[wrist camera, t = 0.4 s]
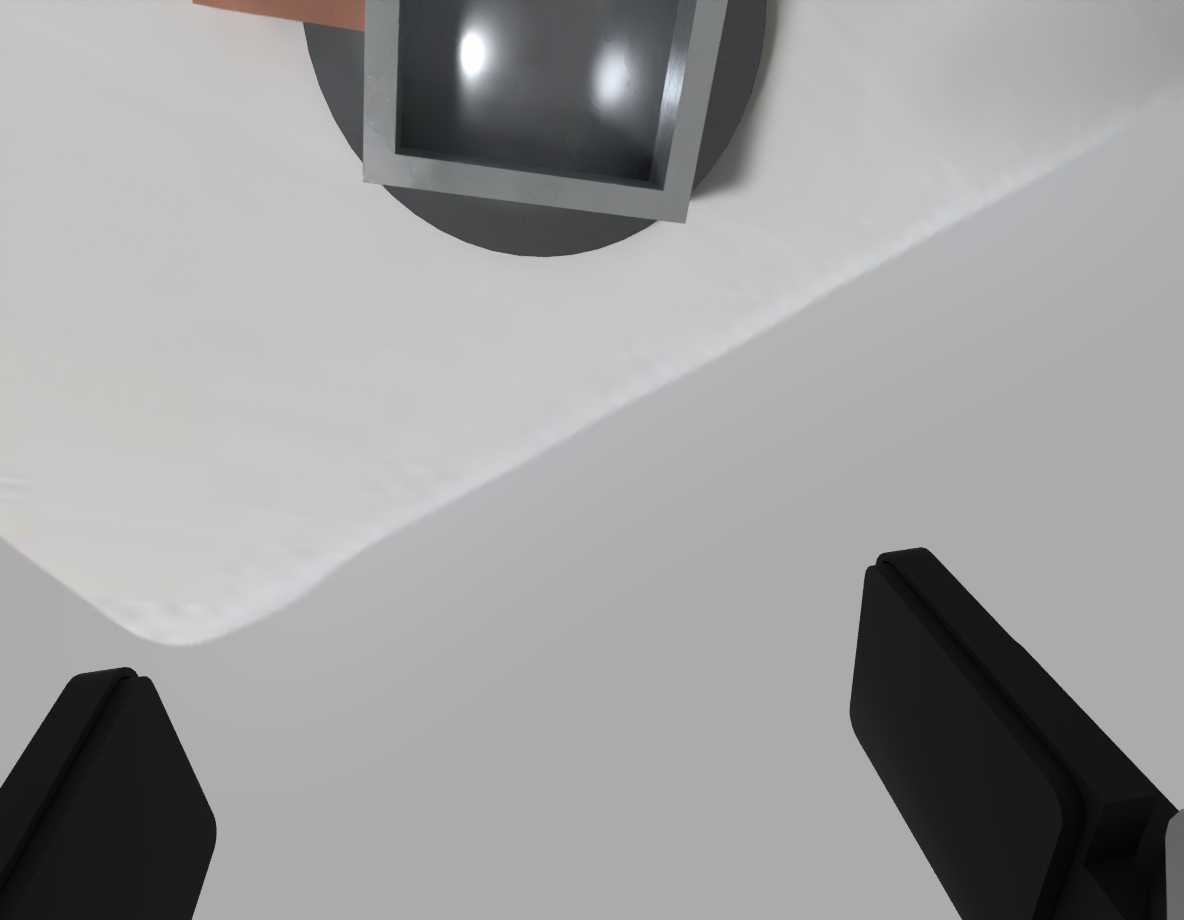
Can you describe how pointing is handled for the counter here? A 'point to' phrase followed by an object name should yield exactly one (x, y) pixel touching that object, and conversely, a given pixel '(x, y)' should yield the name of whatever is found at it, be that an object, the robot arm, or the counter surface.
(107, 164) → the counter surface
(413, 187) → the disc with square frame
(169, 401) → the counter surface
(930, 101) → the counter surface
